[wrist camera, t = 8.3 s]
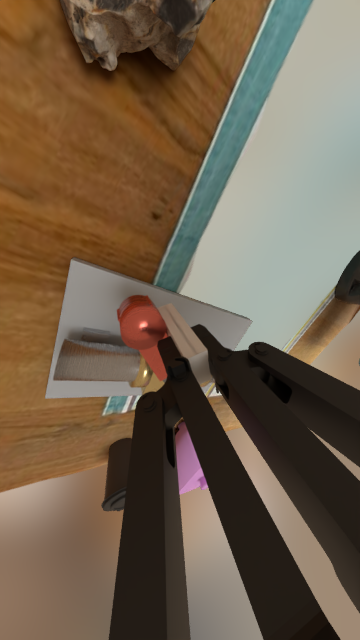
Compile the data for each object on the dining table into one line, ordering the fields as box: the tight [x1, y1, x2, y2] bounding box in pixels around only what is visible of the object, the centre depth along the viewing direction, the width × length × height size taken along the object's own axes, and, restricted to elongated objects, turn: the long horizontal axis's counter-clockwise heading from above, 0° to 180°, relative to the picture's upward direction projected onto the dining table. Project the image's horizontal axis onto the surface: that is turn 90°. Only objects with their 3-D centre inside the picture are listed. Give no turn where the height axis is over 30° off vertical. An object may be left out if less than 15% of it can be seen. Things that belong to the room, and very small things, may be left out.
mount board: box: [45, 257, 252, 398], centre depth 27 cm, size 20×30×2 cm, turn 63°
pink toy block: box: [175, 422, 208, 495], centre depth 41 cm, size 20×10×12 cm, turn 150°
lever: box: [117, 295, 168, 383], centre depth 16 cm, size 16×3×5 cm, turn 18°
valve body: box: [53, 327, 215, 395], centre depth 24 cm, size 6×28×6 cm, turn 64°
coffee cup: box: [102, 438, 132, 511], centre depth 34 cm, size 8×8×10 cm
